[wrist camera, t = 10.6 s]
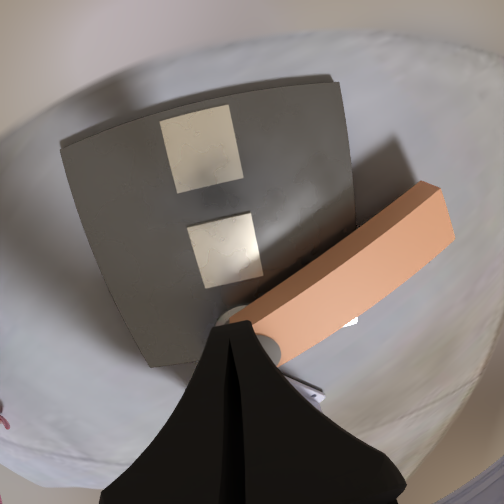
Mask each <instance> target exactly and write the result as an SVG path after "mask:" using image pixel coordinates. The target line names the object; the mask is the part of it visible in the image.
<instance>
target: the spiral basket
mask: <svg viewBox="0 0 504 504" xmlns="http://www.w3.org/2000/svg"><path fill="white" fill-rule="evenodd" d="M0 423H1V424H3V425H4V426H5V428H6V429H10V424H9V423H8V421H7V420H6V419H5V418H4V417H3V416H1V415H0ZM0 504H2V500H1V496H0Z"/></svg>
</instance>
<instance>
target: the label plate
mask: <svg viewBox="0 0 504 504" xmlns="http://www.w3.org/2000/svg"><path fill="white" fill-rule="evenodd" d="M60 153H61V157H62V161H63V165H64V168H65V172H66V175H67V179H68V182H69V186H70V189H71V192H72V195H73V199H74V202H75V205H76V208H77V211H78V214H79V217H80V219H81V222H82V225H83V228H84V230H85V233H86V236H87V238H88V241H89V244H90V246H91V249H92V251H93V254H94V256H95V259H96V261H97V263H98V266H99V268H100V270H101V273H102V275H103V277H104V280H105V282H106V284H107V286H108V288H109V291H110V293H111V295H112V297H113V299H114V301H115V303H116V305H117V307H118V309H119V311H120V313H121V315H122V317H123V319H124V321H125V323H126V325H127V327H128V329H129V331H130V333H131V335H132V337H133V338H134V340H135V342H136V344H137V346H138V347H139V349H140V351H141V353H142V355H143V356H144V358H145V360H146V361H147V363H148V365H149V367H150V368H152V367H160V366H167V365H174V364H181V363H187V362H193V361H199V360H200V358H201V355H202V352H203V350H204V347H205V344H206V341H207V338H208V335H209V332H210V330H211V328H212V327H216V326H220V325H224V324H225V323H226V321H228V320H229V318H230V317H231V316H233V315H234V314H236V313H237V312H239V311H240V310H242V309H243V308H245V307H246V306H248V305H249V304H251V303H252V302H254V301H255V300H257V299H258V298H260V297H261V296H263V295H264V294H266V293H267V292H269V291H270V290H272V289H273V288H275V287H276V286H278V285H279V284H280V283H282V282H283V281H285V280H286V279H288V278H289V277H291V276H292V275H294V274H295V273H296V272H298V271H299V270H301V269H302V268H304V267H305V266H306V265H308V264H309V263H311V262H312V261H314V260H315V259H316V258H318V257H319V256H321V255H322V254H323V253H325V252H326V251H328V250H329V249H330V248H332V247H333V246H335V245H336V244H337V243H339V242H340V241H341V240H343V239H344V238H346V237H347V236H348V235H350V234H351V233H352V232H354V231H355V230H356V215H355V200H354V187H353V176H352V166H351V157H350V149H349V141H348V133H347V126H346V119H345V113H344V107H343V101H342V95H341V89H340V84H339V82H329V83H314V84H303V85H293V86H285V87H277V88H269V89H262V90H256V91H250V92H244V93H239V94H233V95H228V96H223V97H218V98H214V99H209V100H205V101H200V102H196V103H192V104H188V105H184V106H180V107H177V108H173V109H169V110H166V111H162V112H159V113H156V114H152V115H149V116H146V117H143V118H140V119H137V120H133V121H131V122H128V123H125V124H122V125H119V126H116V127H114V128H111V129H108V130H106V131H103V132H100V133H98V134H95V135H93V136H90V137H88V138H85V139H83V140H81V141H78V142H76V143H74V144H71V145H69V146H67V147H65V148H63V149H60ZM355 323H357V317H356V318H355V319H354V320H352V321H351V322H349V323H348V324H346V325H345V326H348V325H352V324H355ZM345 326H343V327H345Z"/></svg>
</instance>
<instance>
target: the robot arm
mask: <svg viewBox="0 0 504 504" xmlns="http://www.w3.org/2000/svg"><path fill="white" fill-rule="evenodd" d="M325 397H326V396H325V394H324V393H323V392H320V391H318V390H316V389H313V388H311V387H309V386H306V385H304V384H302V383H300V382H297V381H295V380H293V379H291V378H289V377H286V376H284V375H283V374H282V373H281V372H280V370H279V369H278V368H277V367H276V365H275V364H274V363H273V361H272V360H271V358H270V357H269V356H268V354H267V353H266V351H265V350H264V348H263V347H262V345H261V343H260V341H259V340H258V338H257V336H256V334H255V332H254V329H253V327H252V323H251V321H249V320H244V321H240V322H235V323H230V324H225V325H220V326H216V327H212V328H211V330H210V332H209V335H208V338H207V341H206V344H205V347H204V350H203V352H202V355H201V358H200V360H199V362H198V365H197V367H196V369H195V372H194V374H193V376H192V378H191V380H190V382H189V384H188V386H187V388H186V390H185V392H184V394H183V396H182V398H181V399H180V401H179V403H178V405H177V406H176V408H175V410H174V411H173V413H172V414H171V416H170V417H169V419H168V421H167V422H166V423H165V425H164V426H163V428H162V429H161V430H160V432H159V433H158V434H157V436H156V437H155V438H154V440H153V441H152V442H151V443H150V445H149V446H148V447H147V448H146V449H145V450H144V452H143V453H142V454H141V455H140V456H139V457H138V458H137V459H136V460H135V461H134V463H133V464H132V465H131V466H130V467H129V468H128V469H127V470H126V471H125V472H124V473H122V474H121V475H120V476H119V477H118V478H117V479H116V480H115V481H113V482H112V483H111V484H110V485H109V486H108V487H106V488H105V489H104V490H103V491H102V492H101V496H100V500H99V504H398V502H397V500H396V498H397V497H398V496H399V495H400V494H401V493H402V492H403V491H404V490H405V488H406V486H407V484H406V482H405V479H404V478H403V476H402V474H401V473H400V471H399V470H398V468H397V467H396V466H395V465H394V463H393V462H392V461H391V460H390V459H389V458H388V457H387V456H386V454H384V453H383V452H381V451H379V450H377V449H375V448H373V447H372V446H370V445H368V444H366V443H365V442H363V441H361V440H360V439H358V438H356V437H355V436H353V435H352V434H350V433H349V432H347V431H346V430H344V429H343V428H341V427H340V426H338V425H337V424H336V423H334V422H333V421H332V420H331V419H329V418H328V417H327V416H325V415H324V414H323V413H322V410H321V407H320V404H319V403H320V402H321V401H323V400H324V399H325ZM433 504H504V456H502V457H501V458H500V459H499V460H497V461H496V462H495V463H494V464H492V465H491V466H490V467H489V468H487V469H486V470H484V471H483V472H482V473H480V474H479V475H478V476H476V477H475V478H473V479H472V480H470V481H469V482H468V483H466V484H464V485H463V486H461V487H460V488H458V489H457V490H455V491H454V492H452V493H450V494H449V495H447V496H445V497H444V498H442V499H440V500H438V501H437V502H435V503H433Z"/></svg>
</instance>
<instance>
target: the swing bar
mask: <svg viewBox="0 0 504 504" xmlns="http://www.w3.org/2000/svg"><path fill="white" fill-rule="evenodd" d="M454 240H455V235H454V232H453V228H452V224H451V220H450V217H449V213H448V210H447V207H446V203H445V200H444V197H443V194H442V191H441V188H439V187H436V186H434V185H431V184H429V183H426V182H424V181H420V182H418V183H417V184H416V185H414V186H413V187H412V188H411V189H409V190H408V191H407V192H406V193H404V194H403V195H402V196H400V197H399V198H398V199H396V200H395V201H394V202H393V203H391V204H390V205H389V206H387V207H386V208H385V209H383V210H382V211H381V212H379V213H378V214H377V215H375V216H374V217H373V218H371V219H370V220H369V221H367V222H366V223H365V224H363V225H362V226H361V227H359V228H358V229H357V230H355V231H354V232H352V233H351V234H350V235H348V236H347V237H346V238H344V239H343V240H341V241H340V242H339V243H337V244H336V245H335V246H333V247H332V248H330V249H329V250H328V251H326V252H325V253H323V254H322V255H321V256H319V257H318V258H316V259H315V260H314V261H312V262H311V263H309V264H308V265H306V266H305V267H304V268H302V269H301V270H299V271H298V272H296V273H295V274H294V275H292V276H291V277H289V278H288V279H286V280H285V281H283V282H282V283H280V284H279V285H278V286H276V287H275V288H273V289H272V290H270V291H269V292H267V293H266V294H264V295H263V296H261V297H260V298H258V299H257V300H255V301H254V302H252V303H251V304H249V305H248V306H246V307H245V308H243V309H242V310H240V311H239V312H237V313H236V314H234V315H233V316H231V317H230V318H229V320H228V321H226V323H225V324H230V323H235V322H240V321H244V320H249V321H251V323H252V327H253V329H254V332H255V334H256V336H257V338H258V340H259V341H260V343H261V345H262V347H263V348H264V350H265V351H266V353H267V354H268V356H269V357H270V358H271V360H272V361H273V363H274V364H275V365H276V367H279V366H281V365H283V364H284V363H286V362H288V361H289V360H291V359H293V358H294V357H296V356H298V355H299V354H301V353H303V352H304V351H306V350H308V349H309V348H311V347H312V346H314V345H316V344H317V343H319V342H320V341H322V340H324V339H325V338H327V337H328V336H330V335H331V334H333V333H334V332H336V331H337V330H339V329H340V328H342V327H343V326H345V325H346V324H348V323H349V322H351V321H352V320H354V319H355V318H356V317H358V316H359V315H361V314H362V313H364V312H365V311H366V310H368V309H369V308H371V307H372V306H373V305H375V304H376V303H377V302H379V301H380V300H382V299H383V298H384V297H386V296H387V295H388V294H390V293H391V292H392V291H394V290H395V289H396V288H397V287H399V286H400V285H401V284H403V283H404V282H405V281H406V280H408V279H409V278H410V277H411V276H413V275H414V274H415V273H416V272H418V271H419V270H420V269H421V268H422V267H424V266H425V265H426V264H427V263H428V262H430V261H431V260H432V259H433V258H434V257H436V256H437V255H438V254H439V253H440V252H441V251H442V250H444V249H445V248H446V247H447V246H448V245H449V244H450V243H451V242H453V241H454ZM225 324H224V325H225Z"/></svg>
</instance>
